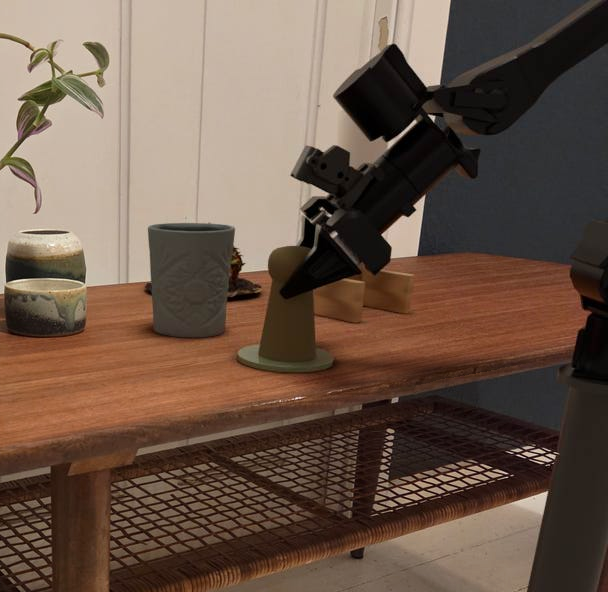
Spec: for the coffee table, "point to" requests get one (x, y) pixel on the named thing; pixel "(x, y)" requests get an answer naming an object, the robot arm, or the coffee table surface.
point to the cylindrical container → (357, 142)
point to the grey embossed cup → (190, 277)
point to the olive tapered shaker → (288, 312)
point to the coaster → (254, 360)
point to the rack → (364, 294)
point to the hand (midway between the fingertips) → (278, 291)
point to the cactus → (234, 278)
